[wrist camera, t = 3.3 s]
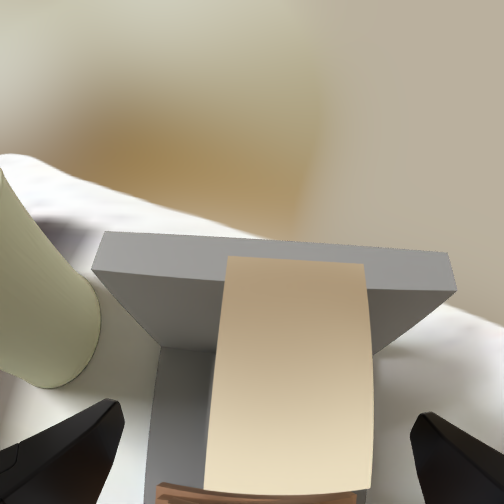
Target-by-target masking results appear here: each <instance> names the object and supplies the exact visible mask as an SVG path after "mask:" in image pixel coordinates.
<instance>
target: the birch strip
mask: <svg viewBox="0 0 504 504" xmlns="http://www.w3.org/2000/svg"><path fill="white" fill-rule="evenodd" d="M373 431H374V388H373V360H372V343H371V329H370V317H369V306H368V297H367V288H366V279H365V271H364V264H357V263H340V262H323V261H306V260H289V259H273V258H256V257H240V256H228V259H227V267H226V275H225V283H224V291H223V299H222V308H221V316H220V325H219V333H218V342H217V351H216V360H215V370H214V379H213V389H212V399H211V409H210V419H209V430H208V441H207V452H206V464H205V476H204V488H203V490H210V491H218V492H228V493H239V494H256V495H310V494H326V493H337V492H347V491H355V490H362V489H369V488H370V487H371V474H372V458H373Z"/></svg>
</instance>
